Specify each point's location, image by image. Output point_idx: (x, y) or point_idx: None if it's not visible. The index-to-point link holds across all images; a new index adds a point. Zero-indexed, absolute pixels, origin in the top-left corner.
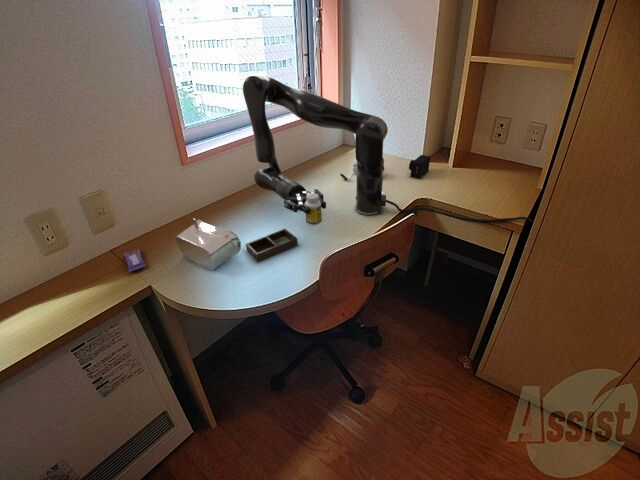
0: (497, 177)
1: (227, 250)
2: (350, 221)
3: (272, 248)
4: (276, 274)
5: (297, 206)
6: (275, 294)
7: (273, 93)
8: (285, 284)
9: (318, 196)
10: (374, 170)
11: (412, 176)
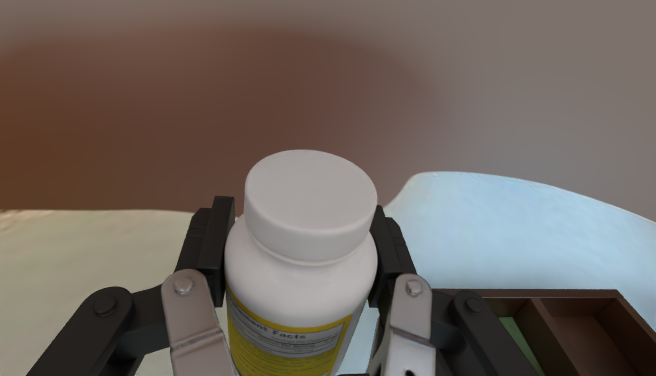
0: None
1: None
2: (24, 340)
3: (550, 289)
4: (510, 230)
5: (445, 299)
6: (511, 186)
7: None
8: (485, 194)
9: (271, 156)
10: None
11: None
